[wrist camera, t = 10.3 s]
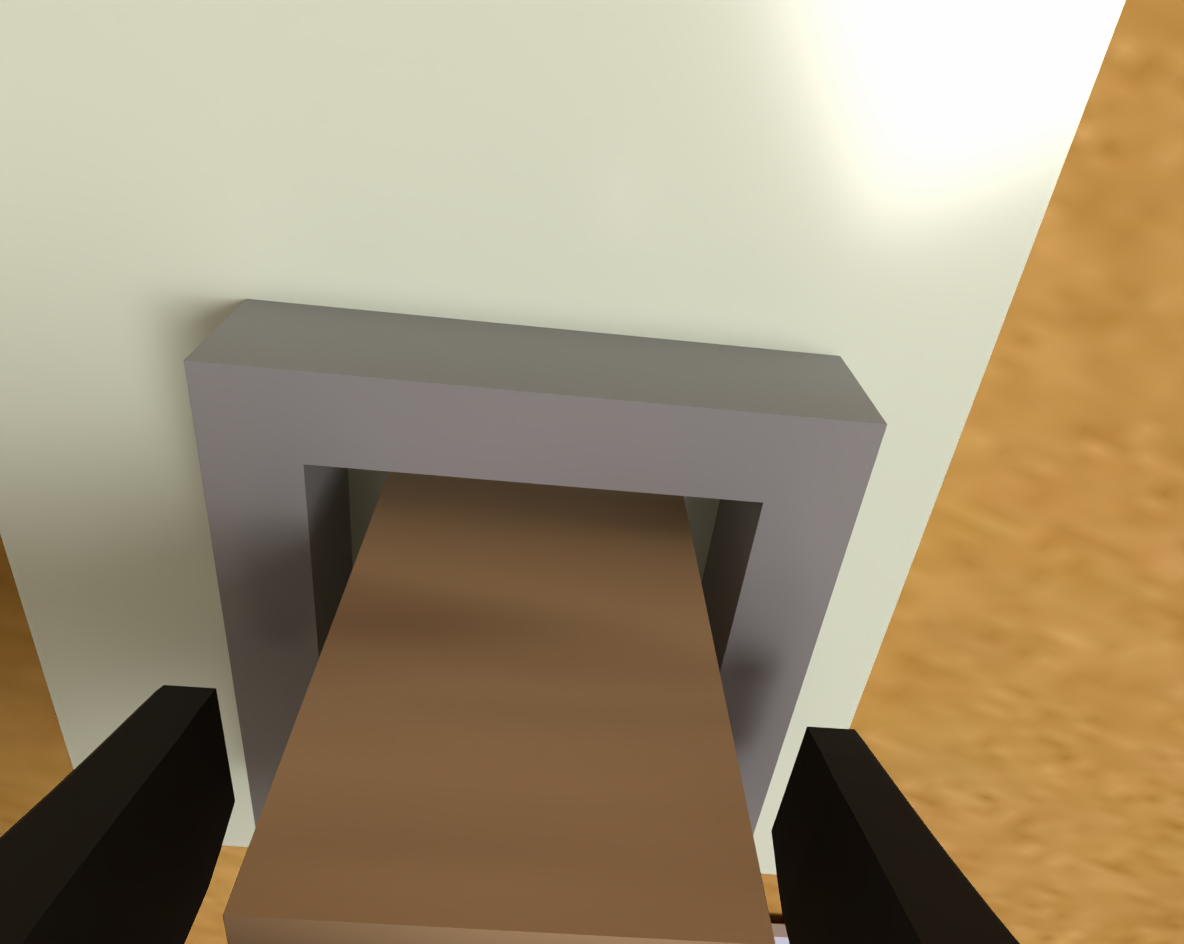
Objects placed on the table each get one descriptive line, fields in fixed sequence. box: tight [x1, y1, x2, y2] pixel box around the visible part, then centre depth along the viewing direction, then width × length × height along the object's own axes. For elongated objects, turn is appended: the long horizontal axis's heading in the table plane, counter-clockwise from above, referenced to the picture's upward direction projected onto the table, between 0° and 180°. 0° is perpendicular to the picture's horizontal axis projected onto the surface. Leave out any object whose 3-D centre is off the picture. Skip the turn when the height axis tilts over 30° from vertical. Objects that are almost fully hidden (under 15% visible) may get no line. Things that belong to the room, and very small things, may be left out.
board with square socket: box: [0, 0, 1126, 874], centre depth 12 cm, size 18×14×3 cm
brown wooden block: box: [223, 472, 775, 944], centre depth 10 cm, size 5×4×7 cm
